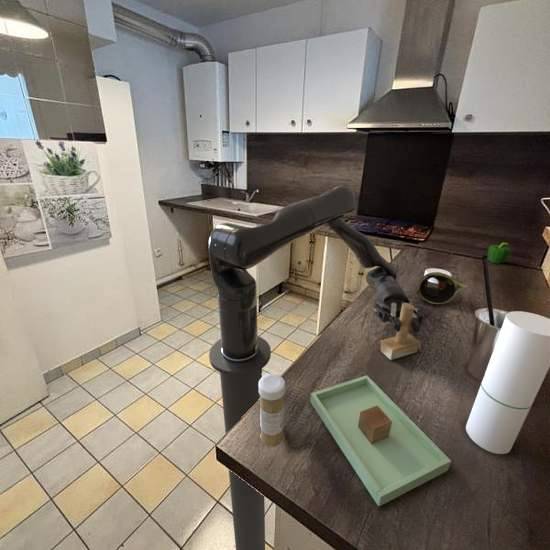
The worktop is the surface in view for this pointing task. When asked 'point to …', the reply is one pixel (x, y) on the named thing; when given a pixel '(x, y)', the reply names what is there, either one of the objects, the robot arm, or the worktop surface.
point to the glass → (485, 331)
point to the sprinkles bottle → (271, 409)
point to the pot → (444, 282)
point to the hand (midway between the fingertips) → (407, 328)
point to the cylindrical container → (510, 381)
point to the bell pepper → (498, 253)
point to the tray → (383, 454)
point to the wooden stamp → (401, 337)
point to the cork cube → (374, 424)
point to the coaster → (436, 271)
